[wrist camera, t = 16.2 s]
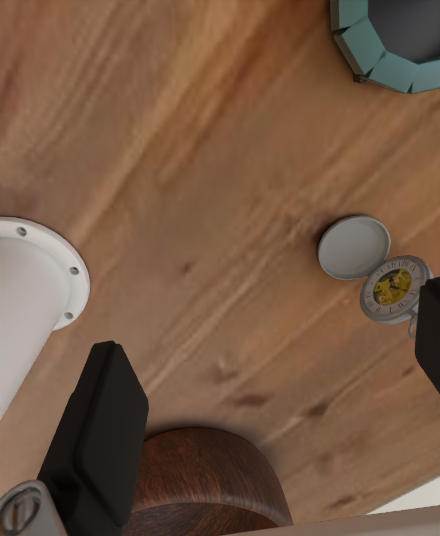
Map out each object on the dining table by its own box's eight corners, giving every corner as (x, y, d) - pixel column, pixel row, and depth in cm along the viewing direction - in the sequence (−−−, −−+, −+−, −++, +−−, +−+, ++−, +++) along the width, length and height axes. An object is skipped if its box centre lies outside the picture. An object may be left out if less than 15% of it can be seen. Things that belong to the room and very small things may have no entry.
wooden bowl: (87, 421, 46) (58, 508, 37) (279, 403, 45) (296, 488, 36) (133, 517, 59) (119, 598, 50) (283, 504, 58) (297, 585, 49)
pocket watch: (324, 210, 32) (367, 267, 23) (414, 216, 32) (488, 273, 24) (306, 286, 36) (336, 358, 27) (386, 290, 37) (441, 362, 28)
